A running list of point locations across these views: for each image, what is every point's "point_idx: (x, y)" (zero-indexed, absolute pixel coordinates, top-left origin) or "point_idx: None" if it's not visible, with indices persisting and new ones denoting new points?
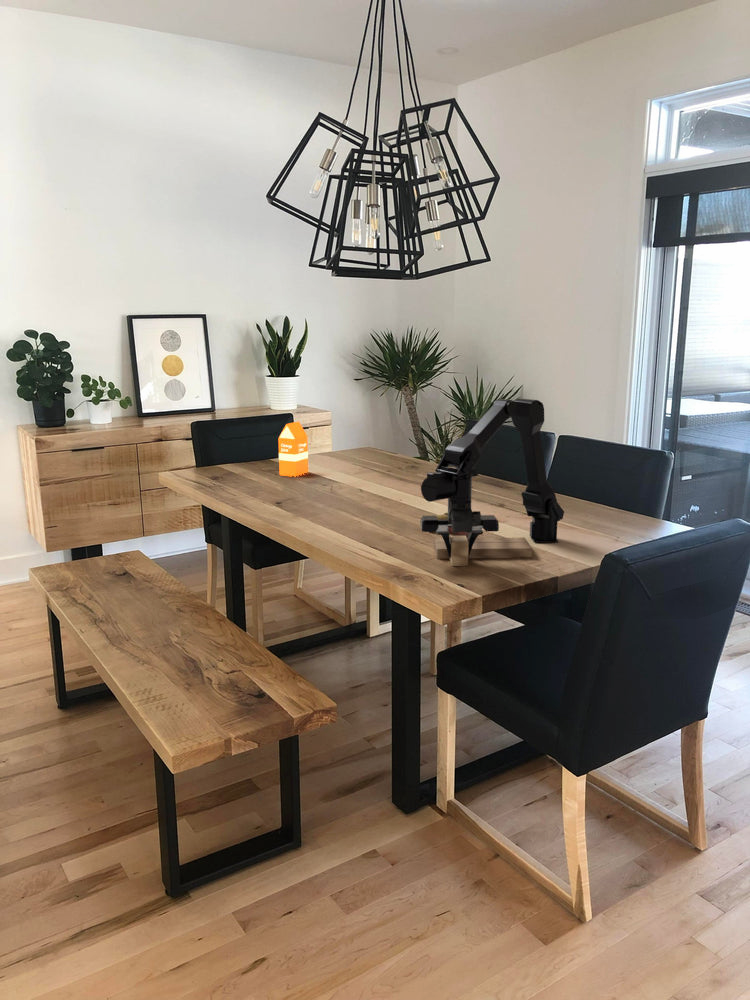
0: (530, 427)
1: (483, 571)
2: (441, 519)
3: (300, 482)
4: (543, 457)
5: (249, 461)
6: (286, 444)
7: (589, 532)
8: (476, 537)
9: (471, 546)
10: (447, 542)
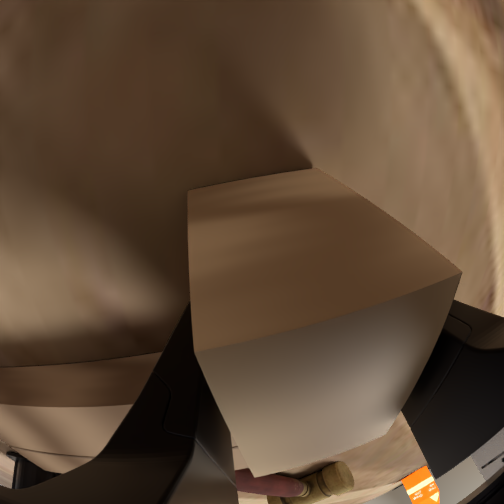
0: None
1: (58, 85)
2: (307, 497)
3: (420, 466)
4: None
5: (429, 467)
6: (432, 489)
7: (8, 471)
8: (91, 460)
9: (166, 359)
10: (452, 312)
